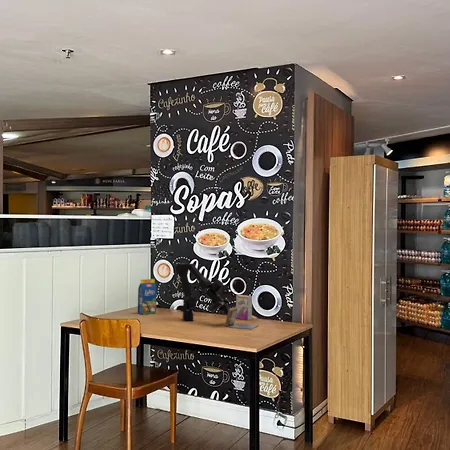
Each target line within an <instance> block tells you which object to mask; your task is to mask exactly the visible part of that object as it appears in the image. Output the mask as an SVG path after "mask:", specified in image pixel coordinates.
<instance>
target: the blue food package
mask: <svg viewBox="0 0 450 450" xmlns="http://www.w3.org/2000/svg"><path fill="white" fill-rule="evenodd" d="M137 290H138V291H137V293H138V294H137V314H138V315H153V314H157V295H158V294H157V293H158V291H157V286H156V282H155V278H149V279H148V278H147V279H142V278H141V279H140V283H139V284H138V289H137Z"/></svg>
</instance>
